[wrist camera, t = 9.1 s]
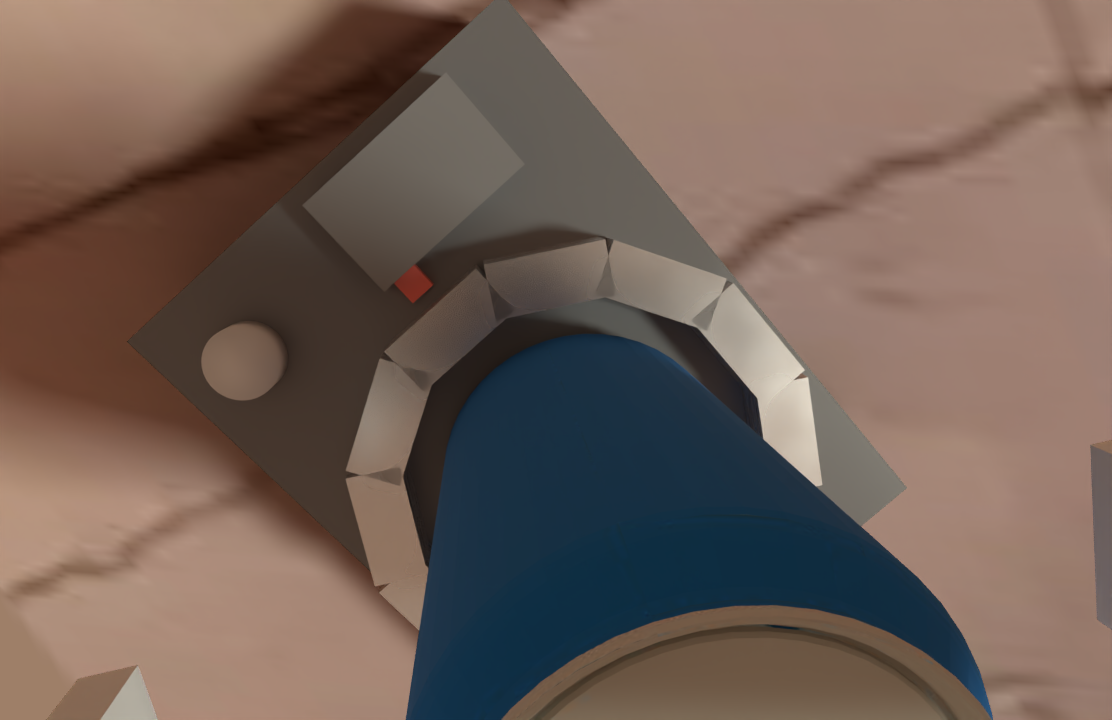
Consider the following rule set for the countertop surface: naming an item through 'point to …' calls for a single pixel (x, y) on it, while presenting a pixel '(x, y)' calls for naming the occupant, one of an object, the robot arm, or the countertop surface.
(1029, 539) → the countertop surface
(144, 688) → the robot arm
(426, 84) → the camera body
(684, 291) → the mount ring
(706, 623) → the beverage can
